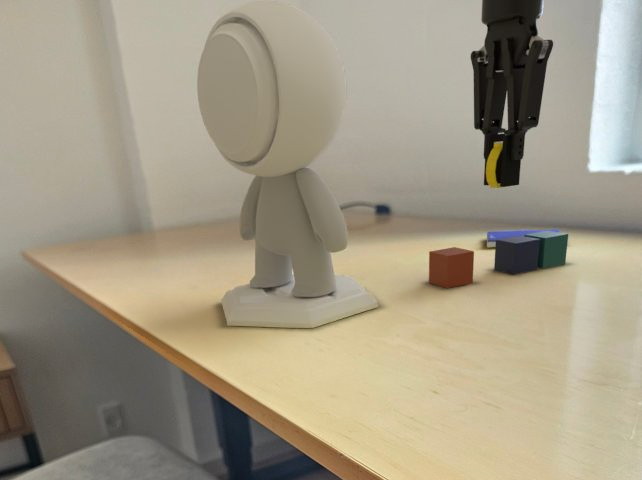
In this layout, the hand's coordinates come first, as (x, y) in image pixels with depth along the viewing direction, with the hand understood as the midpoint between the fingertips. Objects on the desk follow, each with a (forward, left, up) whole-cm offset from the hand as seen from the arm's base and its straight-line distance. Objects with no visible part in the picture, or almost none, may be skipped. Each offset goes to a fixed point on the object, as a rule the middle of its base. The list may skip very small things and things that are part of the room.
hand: (501, 184), depth 93 cm
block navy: (-2, -2, -12) cm, 13 cm away
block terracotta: (+5, +7, -12) cm, 15 cm away
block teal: (-6, -7, -12) cm, 15 cm away
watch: (0, 0, -1) cm, 1 cm away
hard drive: (0, -24, -13) cm, 27 cm away
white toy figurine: (+23, +22, -13) cm, 34 cm away
